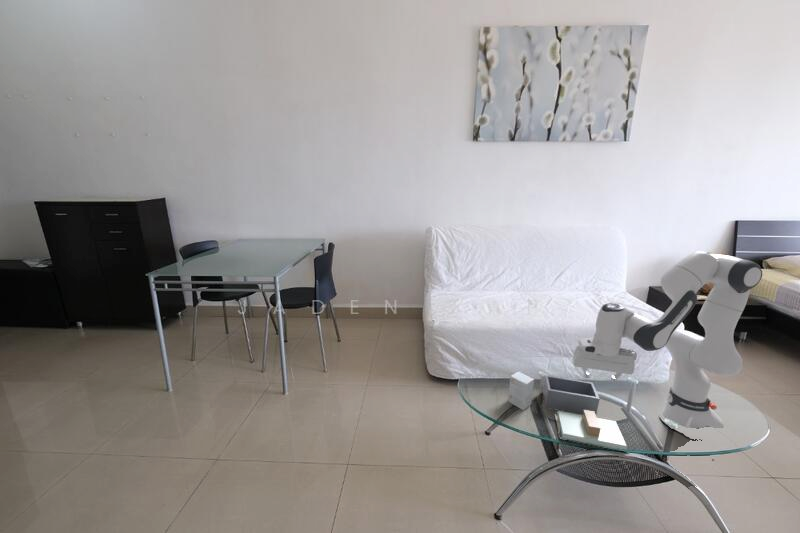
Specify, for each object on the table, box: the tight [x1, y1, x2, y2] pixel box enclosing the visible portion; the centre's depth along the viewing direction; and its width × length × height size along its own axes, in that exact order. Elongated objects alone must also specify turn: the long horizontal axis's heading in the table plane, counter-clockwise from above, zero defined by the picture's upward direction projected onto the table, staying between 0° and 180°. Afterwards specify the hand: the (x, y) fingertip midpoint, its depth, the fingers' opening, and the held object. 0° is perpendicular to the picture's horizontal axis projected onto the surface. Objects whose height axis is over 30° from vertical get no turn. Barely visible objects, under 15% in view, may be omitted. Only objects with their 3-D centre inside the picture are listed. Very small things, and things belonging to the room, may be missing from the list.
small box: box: [507, 371, 535, 411], centre depth 156 cm, size 8×6×13 cm
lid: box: [557, 410, 628, 450], centre depth 140 cm, size 22×14×6 cm, turn 74°
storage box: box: [542, 374, 600, 415], centre depth 157 cm, size 20×12×9 cm, turn 74°
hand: (599, 379), depth 134 cm, fingers open, 8 cm apart
